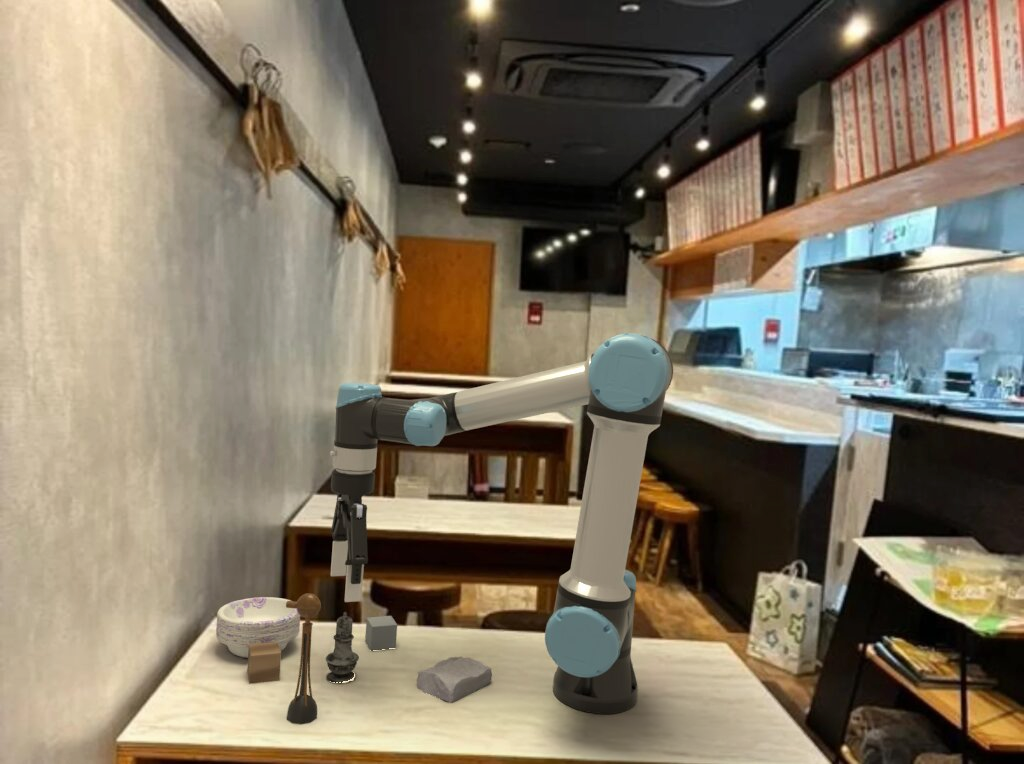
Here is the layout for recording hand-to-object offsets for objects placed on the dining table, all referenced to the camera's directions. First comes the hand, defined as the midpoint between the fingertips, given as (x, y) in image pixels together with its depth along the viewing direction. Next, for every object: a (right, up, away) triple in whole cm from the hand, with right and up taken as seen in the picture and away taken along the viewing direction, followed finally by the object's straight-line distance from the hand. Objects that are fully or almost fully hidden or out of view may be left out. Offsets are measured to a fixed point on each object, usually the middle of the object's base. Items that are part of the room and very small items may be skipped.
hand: (345, 587), depth 132 cm
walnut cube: (-14, -16, -1) cm, 21 cm away
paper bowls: (-19, -15, +10) cm, 26 cm away
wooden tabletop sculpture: (-4, -17, -14) cm, 22 cm away
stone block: (+19, -18, +1) cm, 26 cm away
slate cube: (+3, -16, +16) cm, 23 cm away
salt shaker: (-1, -16, +1) cm, 17 cm away
